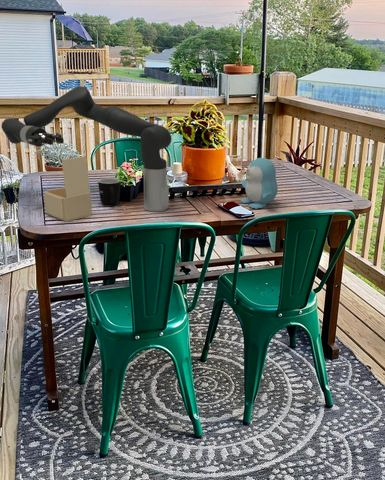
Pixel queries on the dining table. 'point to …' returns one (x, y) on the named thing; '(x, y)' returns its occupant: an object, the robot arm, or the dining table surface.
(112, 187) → the mug
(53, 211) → the carton
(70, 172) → the front flap
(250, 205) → the toy
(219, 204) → the dining table surface
